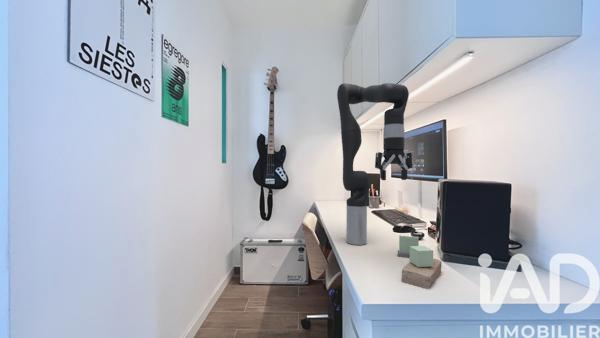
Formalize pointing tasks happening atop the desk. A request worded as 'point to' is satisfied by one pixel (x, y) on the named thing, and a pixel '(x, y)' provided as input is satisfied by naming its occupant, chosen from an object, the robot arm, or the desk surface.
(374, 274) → the desk surface
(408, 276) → the brick
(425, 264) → the green block
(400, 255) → the green and grey bar
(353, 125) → the robot arm
